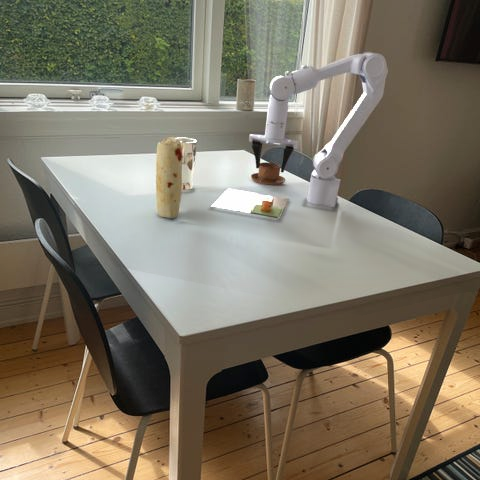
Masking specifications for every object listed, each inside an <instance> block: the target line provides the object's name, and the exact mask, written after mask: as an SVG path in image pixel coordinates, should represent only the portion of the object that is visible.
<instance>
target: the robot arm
mask: <svg viewBox="0 0 480 480" xmlns="http://www.w3.org/2000/svg"><path fill="white" fill-rule="evenodd" d="M387 64H388V63H387V61H386V58H385V56H383V54H381V53H376V52H375V53H374V52H373V51H365V52H363V53H357V54H352V55H349V56H346V57H344V58H341V59H337V60H335V61H333V62H331V63H327V64H326V65H323V66H320V67H318V68H316V67H315V66H312V65H307V64H304V65H301V68H300V69H297V70H294V71H291V72H289V71H285V72H284V75H285V76H283V75H277V76H275V77H273V79H272V80H271V81H270V84H269V86H268V87H269V88H268V89H269V92H270V95H269V100H268V101H269V103H268V104H267V105H268V106H267V113H266V123H265V131H264V134H253V133H251V134H249V137H248V142H249V143H251V148H252V151H253V154H254V155H253V156H254V160H255V168H256V169H259V167H260V163H261V156H262V149H263V145H264V144H265V145H271V146H278V147H283V156H282V162H281V167H280V173H284V172H285V169H286V167H287V163H288V162H289V161H288V160H289V158H290V157H291V155H292V154H293V152H294V150H298V148H299V143H300V142H299V140H294V139H290V138H285V134H286V126H287V121H288V120H287V119H288V113H289V112H288V111H289V99H290V97H291V96H292V95H294V96H295V95H298V94H301V93H303V92H304V93H305V92H307V91H309V90H313V89H316V87H317V86H318V84H319V83H320V81H324V80H327V79H331V78H334V77H337V76H340V75H343V74H347V73H350V74H354V75H358V76H359V78H360V81H361V86H362V91H363V93H362V94H361V96H360V97H359V98H358V100H357V101H356V103H355V105H354V106H353V107H352V109H351V110H350V112H349V113H348V115H347V116H346V118H345V119H344V121H343V122H342V124H341V125H340V127H339V128H338V129H337V131H336V133H335V134H334V136H333V137H332V139H330V141H329V142H328V143H326V144H325V145H324V147H323V148H322V149H321V150H320V151H318V152H317V153H316V154H315V155H314V156H313V158H312V166H313V168H314V169H313V171H312V172H311V173H310V174H311V175H310V180H309V186H308V192H307V196H306V201H307V203H310V204H312V205H315V206H321V207H322V206H323V207H330V208H336V205H337V204H338V201H339V197H338V196H339V190H340V187H341V186H340V185H341V182H342V180H341V179H340V178H336V174H337V173H338V170H339V166H340V163H342V161H343V159H344V158H343V157H344V153H345V152H346V150H347V148H348V147H349V145H351V143H352V141H353V140H354V138H355V137H356V135H357V134H358V133H359V131H360V130H361V128H362V127H363V126H364V124H365V123H366V122H367V120H368V119H369V117H370V116H371V114H372V113H373V112H374V110H375V108H377V106H378V104H379V102H380V101H381V100H382V98H383V96H384V91H385V85H386V80H387V79H386V78H387V76H388V73H389V70H388V69H389V68H388V65H387Z"/></svg>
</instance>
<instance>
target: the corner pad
mask: <svg viewBox="0 0 480 480" xmlns="http://www.w3.org/2000/svg"><path fill="white" fill-rule="evenodd" d="M281 210H282V208H277V207H273V209H272V210H271V212H265V211H261V205H259V204H255V206H254V207H253V209H252V210H251V212H250V213H249V214H251V213H255V214H254V215H257V214H261V215H260V216H262V215H267V216H266V217H268V216H273V217H272V218H274V217H278V216H279V214H280V212H281Z"/></svg>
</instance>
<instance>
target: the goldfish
mask: <svg viewBox="0 0 480 480" xmlns="http://www.w3.org/2000/svg"><path fill="white" fill-rule="evenodd" d="M268 195H269V194H268ZM270 196H271V195H269V196H268V197H264V198H263V200H262V205H261V211H265V212H271V210H272V209H273V202H274V198H271V197H270Z"/></svg>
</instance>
